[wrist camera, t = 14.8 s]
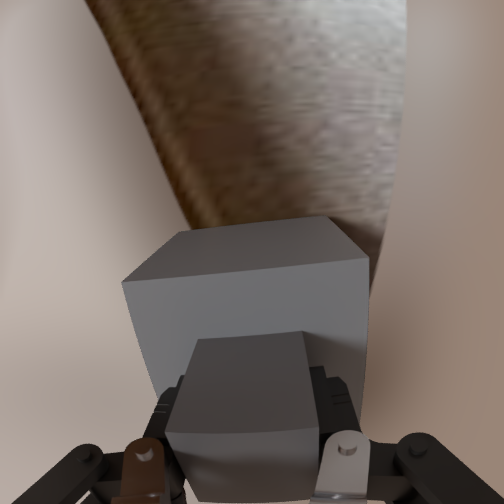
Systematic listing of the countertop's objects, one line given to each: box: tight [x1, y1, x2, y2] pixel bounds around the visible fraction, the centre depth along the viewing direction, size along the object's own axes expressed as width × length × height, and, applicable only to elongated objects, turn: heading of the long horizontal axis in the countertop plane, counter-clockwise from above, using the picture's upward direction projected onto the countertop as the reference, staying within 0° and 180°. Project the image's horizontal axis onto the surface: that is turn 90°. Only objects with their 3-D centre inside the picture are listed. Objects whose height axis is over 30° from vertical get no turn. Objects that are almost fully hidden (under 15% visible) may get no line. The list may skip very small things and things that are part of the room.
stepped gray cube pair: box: [121, 215, 369, 503], centre depth 14 cm, size 9×9×14 cm
